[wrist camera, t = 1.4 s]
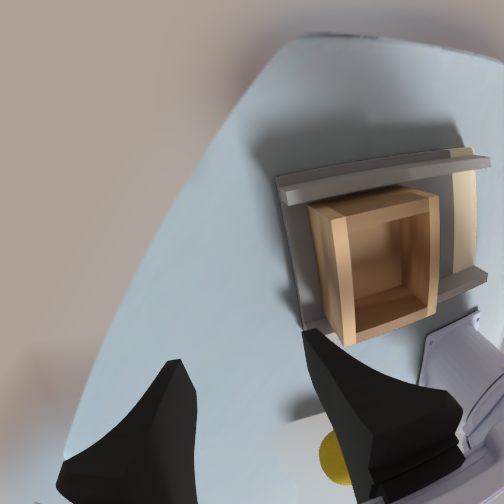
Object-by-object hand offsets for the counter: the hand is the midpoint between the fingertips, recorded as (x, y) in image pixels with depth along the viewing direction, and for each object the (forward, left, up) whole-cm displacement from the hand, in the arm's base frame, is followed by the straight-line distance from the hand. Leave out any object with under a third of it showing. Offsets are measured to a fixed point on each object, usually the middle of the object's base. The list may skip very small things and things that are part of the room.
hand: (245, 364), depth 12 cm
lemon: (-21, -6, -10) cm, 24 cm away
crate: (0, -9, -8) cm, 12 cm away
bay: (0, -13, -9) cm, 16 cm away
